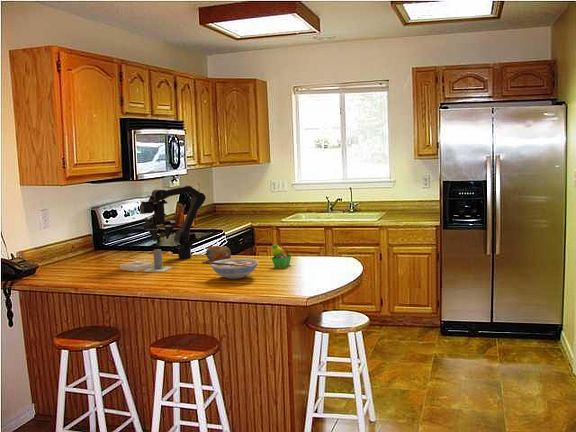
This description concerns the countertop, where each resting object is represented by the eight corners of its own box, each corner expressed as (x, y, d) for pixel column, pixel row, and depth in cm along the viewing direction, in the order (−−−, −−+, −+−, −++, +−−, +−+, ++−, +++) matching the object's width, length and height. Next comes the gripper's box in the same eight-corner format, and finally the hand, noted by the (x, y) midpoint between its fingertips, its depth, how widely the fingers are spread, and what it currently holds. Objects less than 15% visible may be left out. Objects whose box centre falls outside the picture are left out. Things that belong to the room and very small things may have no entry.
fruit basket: (285, 268, 316) (284, 246, 315) (269, 267, 319) (268, 246, 318) (292, 264, 327) (291, 242, 326) (276, 263, 330) (275, 242, 329)
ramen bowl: (270, 275, 301) (269, 258, 301) (243, 285, 282) (242, 267, 281) (228, 271, 314) (227, 255, 313) (199, 280, 295) (198, 263, 294)
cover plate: (138, 265, 340) (138, 260, 340) (154, 267, 332) (153, 262, 332) (120, 269, 331) (120, 264, 331) (135, 271, 323) (135, 266, 323)
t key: (154, 268, 328) (153, 249, 326) (165, 268, 326) (163, 249, 325) (151, 269, 325) (150, 250, 324) (162, 269, 323) (161, 250, 322)
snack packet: (206, 260, 346) (205, 245, 345) (209, 259, 349) (208, 244, 348) (229, 262, 339) (228, 247, 338) (232, 261, 342) (231, 246, 341)
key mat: (153, 267, 332) (153, 266, 332) (172, 267, 329) (172, 266, 329) (144, 271, 322) (143, 270, 321) (163, 272, 319) (163, 270, 319)
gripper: (162, 210, 358) (163, 237, 360) (136, 213, 344) (138, 241, 345) (175, 210, 352) (177, 238, 354) (149, 214, 337) (151, 243, 339)
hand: (160, 240), depth 348 cm, fingers open, 9 cm apart
